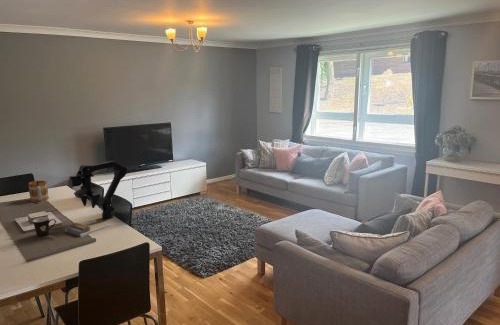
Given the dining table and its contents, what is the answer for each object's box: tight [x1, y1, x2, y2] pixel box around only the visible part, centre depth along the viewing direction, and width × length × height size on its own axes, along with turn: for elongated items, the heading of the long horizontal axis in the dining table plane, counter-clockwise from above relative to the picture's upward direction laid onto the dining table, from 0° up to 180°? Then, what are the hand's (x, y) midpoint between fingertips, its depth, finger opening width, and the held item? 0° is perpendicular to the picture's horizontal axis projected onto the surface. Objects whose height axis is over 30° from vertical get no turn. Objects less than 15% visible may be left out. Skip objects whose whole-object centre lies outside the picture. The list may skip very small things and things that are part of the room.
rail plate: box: [65, 219, 112, 238], centre depth 236 cm, size 21×18×4 cm
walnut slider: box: [70, 222, 91, 233], centre depth 231 cm, size 4×14×4 cm, turn 57°
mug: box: [27, 179, 50, 203], centre depth 303 cm, size 20×14×15 cm
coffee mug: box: [32, 216, 57, 238], centre depth 230 cm, size 12×9×10 cm
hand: (89, 207), depth 245 cm, fingers open, 9 cm apart
